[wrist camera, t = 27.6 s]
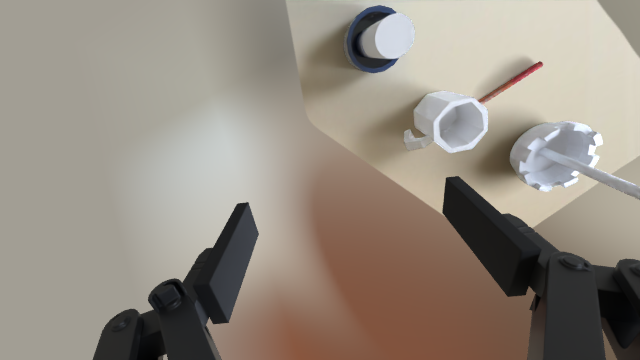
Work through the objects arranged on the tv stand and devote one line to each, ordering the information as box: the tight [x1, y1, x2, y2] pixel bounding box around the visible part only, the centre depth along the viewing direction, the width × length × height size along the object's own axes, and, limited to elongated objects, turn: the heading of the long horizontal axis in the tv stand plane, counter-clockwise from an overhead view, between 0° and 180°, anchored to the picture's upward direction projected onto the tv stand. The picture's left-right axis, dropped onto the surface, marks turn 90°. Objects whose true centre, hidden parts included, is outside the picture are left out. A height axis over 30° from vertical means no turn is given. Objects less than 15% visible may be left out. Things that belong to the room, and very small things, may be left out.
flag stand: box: [510, 121, 640, 200], centre depth 36 cm, size 13×13×30 cm
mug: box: [404, 90, 488, 153], centre depth 42 cm, size 12×9×10 cm
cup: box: [344, 5, 398, 73], centre depth 38 cm, size 8×8×6 cm
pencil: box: [478, 62, 543, 104], centre depth 44 cm, size 19×1×1 cm, turn 127°
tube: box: [357, 13, 415, 59], centre depth 33 cm, size 4×4×15 cm
